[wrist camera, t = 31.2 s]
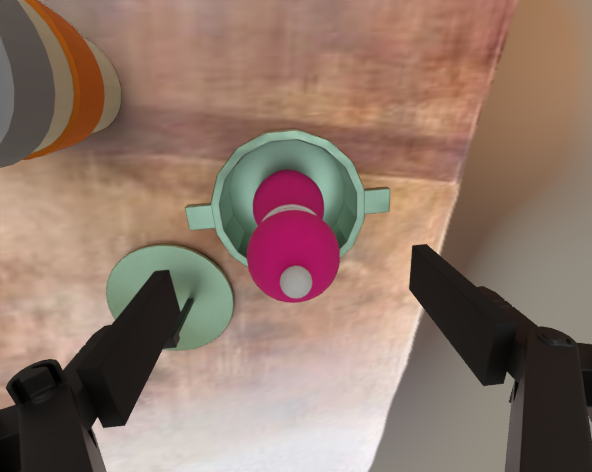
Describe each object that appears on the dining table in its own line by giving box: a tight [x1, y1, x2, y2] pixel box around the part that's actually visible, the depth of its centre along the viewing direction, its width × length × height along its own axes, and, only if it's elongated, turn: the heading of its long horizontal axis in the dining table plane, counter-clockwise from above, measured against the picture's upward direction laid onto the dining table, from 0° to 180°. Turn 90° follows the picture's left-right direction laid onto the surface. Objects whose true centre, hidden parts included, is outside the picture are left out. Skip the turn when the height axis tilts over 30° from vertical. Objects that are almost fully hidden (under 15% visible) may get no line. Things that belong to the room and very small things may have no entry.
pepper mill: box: [247, 170, 340, 303], centre depth 25 cm, size 7×7×20 cm
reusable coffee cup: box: [0, 0, 121, 168], centre depth 22 cm, size 13×12×15 cm
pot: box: [185, 128, 390, 267], centre depth 31 cm, size 15×20×6 cm
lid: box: [106, 244, 234, 351], centre depth 34 cm, size 16×16×9 cm
